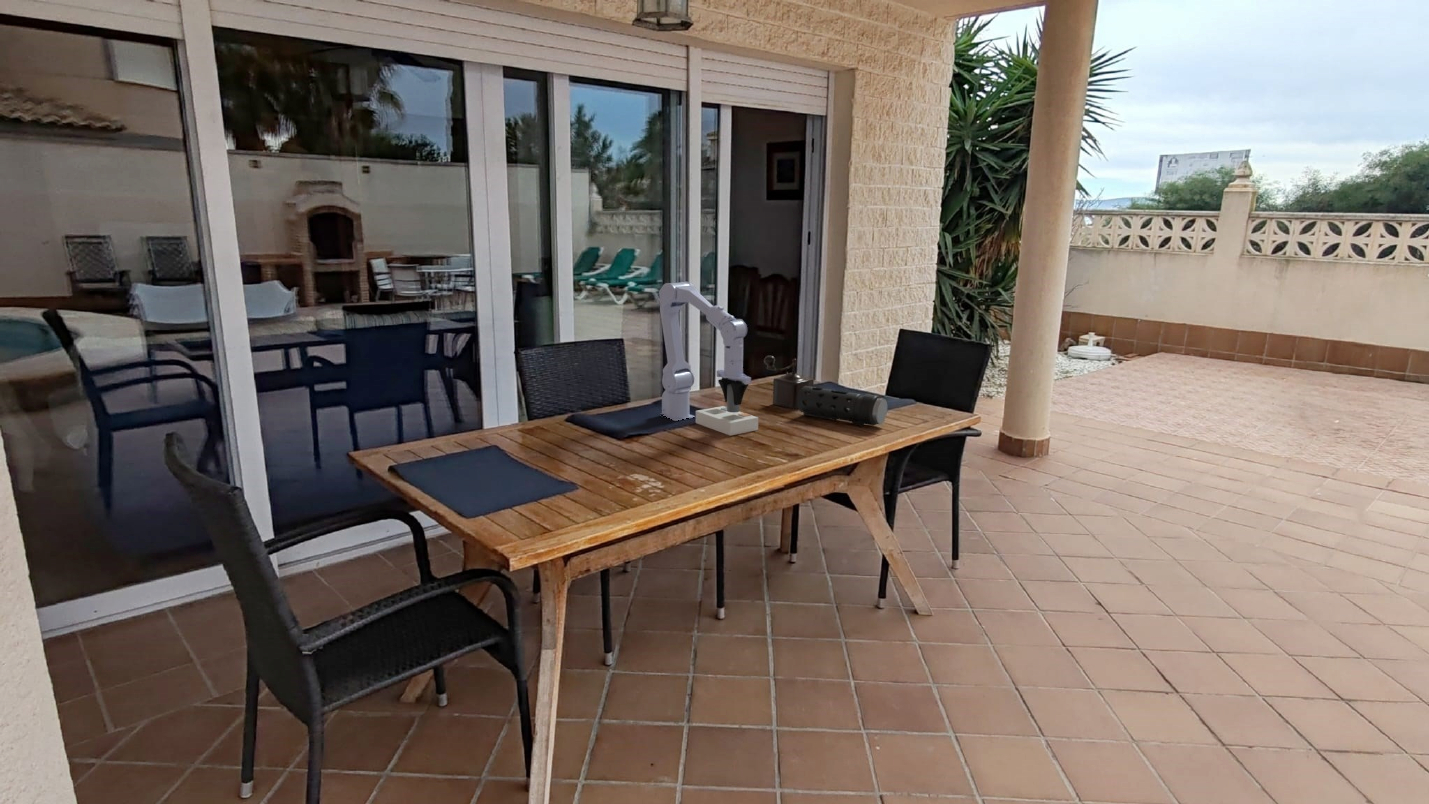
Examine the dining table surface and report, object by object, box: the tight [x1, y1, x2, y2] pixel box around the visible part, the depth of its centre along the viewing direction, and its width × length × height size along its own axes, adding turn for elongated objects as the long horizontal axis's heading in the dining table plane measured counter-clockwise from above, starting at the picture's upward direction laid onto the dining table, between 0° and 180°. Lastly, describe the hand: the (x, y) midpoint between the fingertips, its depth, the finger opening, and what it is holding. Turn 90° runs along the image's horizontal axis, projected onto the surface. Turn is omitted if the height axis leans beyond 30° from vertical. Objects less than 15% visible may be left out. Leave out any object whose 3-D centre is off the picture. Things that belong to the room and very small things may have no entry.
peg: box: [726, 384, 741, 412], centre depth 235 cm, size 4×4×8 cm
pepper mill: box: [763, 355, 815, 410], centre depth 266 cm, size 16×11×18 cm
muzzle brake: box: [797, 386, 888, 426], centre depth 247 cm, size 10×28×10 cm, turn 54°
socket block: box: [695, 405, 759, 436], centre depth 241 cm, size 18×11×4 cm, turn 37°
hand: (733, 403), depth 235 cm, fingers closed on peg, 4 cm apart
